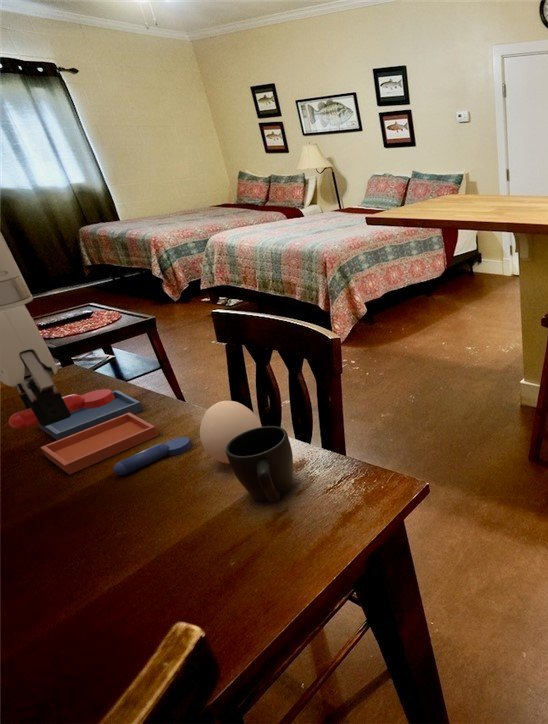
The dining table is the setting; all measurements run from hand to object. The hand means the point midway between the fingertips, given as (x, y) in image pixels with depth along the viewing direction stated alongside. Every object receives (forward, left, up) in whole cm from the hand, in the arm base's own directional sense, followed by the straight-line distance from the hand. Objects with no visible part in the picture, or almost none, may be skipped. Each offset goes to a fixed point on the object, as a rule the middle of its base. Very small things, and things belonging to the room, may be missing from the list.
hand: (51, 417), depth 67 cm
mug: (+14, -24, -15) cm, 32 cm away
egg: (+17, -10, -15) cm, 25 cm away
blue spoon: (+10, +3, -15) cm, 18 cm away
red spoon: (+2, 0, 0) cm, 2 cm away
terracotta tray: (+7, +16, -15) cm, 23 cm away
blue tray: (+10, +29, -15) cm, 34 cm away
